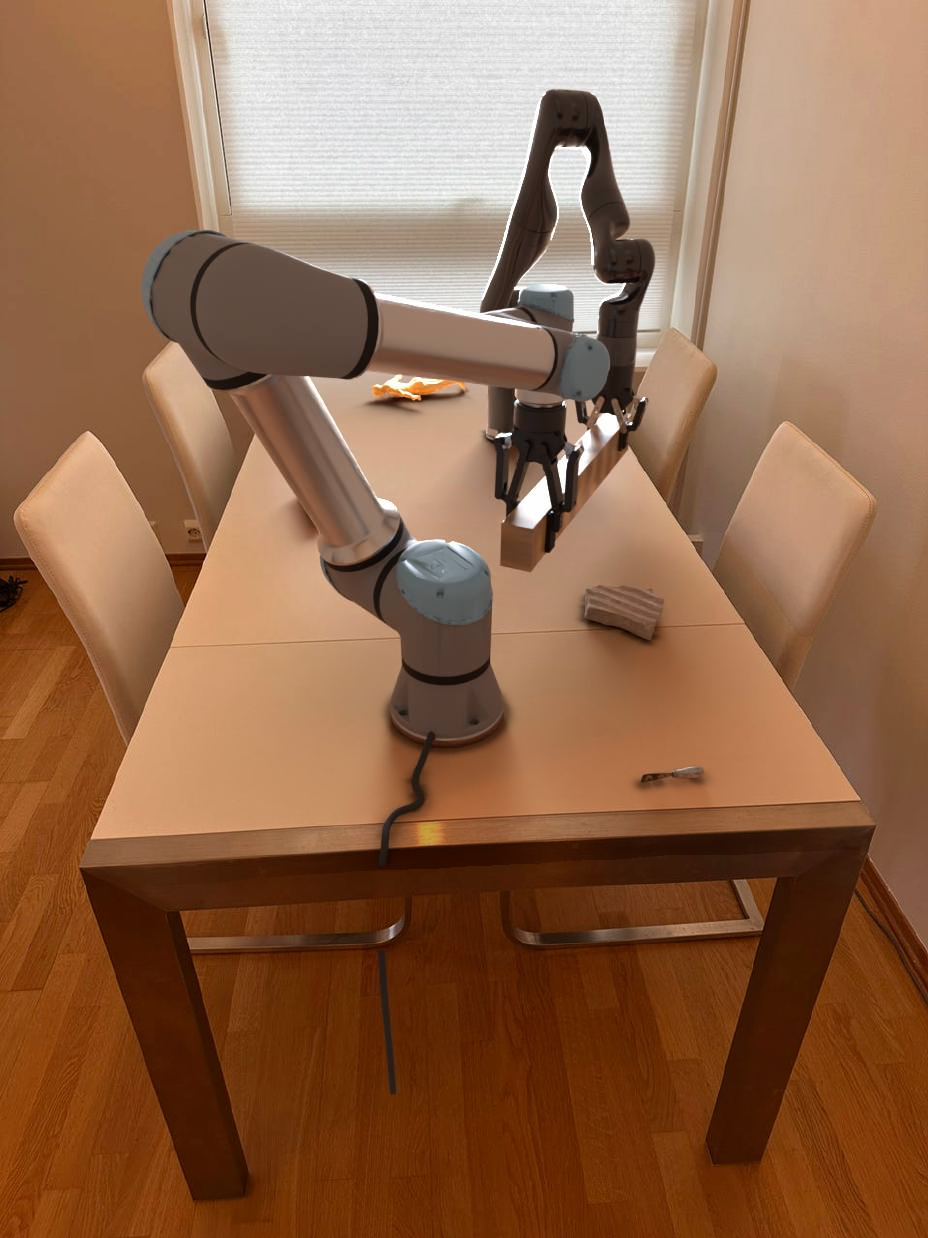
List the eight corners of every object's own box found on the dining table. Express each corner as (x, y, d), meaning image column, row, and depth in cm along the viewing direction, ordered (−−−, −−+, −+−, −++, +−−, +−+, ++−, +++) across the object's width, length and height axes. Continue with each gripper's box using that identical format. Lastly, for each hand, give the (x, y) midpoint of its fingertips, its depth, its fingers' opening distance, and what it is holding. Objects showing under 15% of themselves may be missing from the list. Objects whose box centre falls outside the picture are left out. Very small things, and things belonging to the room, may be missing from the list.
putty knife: (703, 777, 109) (705, 767, 109) (642, 788, 108) (644, 777, 107) (700, 772, 110) (702, 762, 109) (639, 782, 109) (640, 771, 108)
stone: (668, 604, 144) (670, 590, 143) (652, 641, 135) (653, 627, 134) (591, 589, 149) (592, 576, 147) (570, 625, 139) (570, 611, 138)
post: (530, 572, 134) (532, 529, 130) (499, 565, 135) (501, 522, 131) (628, 449, 176) (632, 413, 172) (603, 445, 177) (607, 410, 174)
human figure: (365, 397, 234) (364, 383, 232) (408, 376, 248) (408, 362, 246) (428, 412, 226) (427, 396, 223) (468, 389, 240) (468, 374, 237)
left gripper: (609, 401, 128) (594, 547, 140) (492, 384, 134) (488, 525, 146) (593, 416, 122) (580, 567, 134) (472, 398, 128) (470, 544, 140)
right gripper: (659, 357, 161) (648, 447, 170) (582, 348, 166) (576, 435, 175) (648, 368, 155) (638, 460, 164) (570, 358, 160) (563, 448, 169)
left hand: (532, 545), depth 140 cm, fingers closed on post, 5 cm apart
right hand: (606, 447), depth 169 cm, fingers closed on post, 5 cm apart
